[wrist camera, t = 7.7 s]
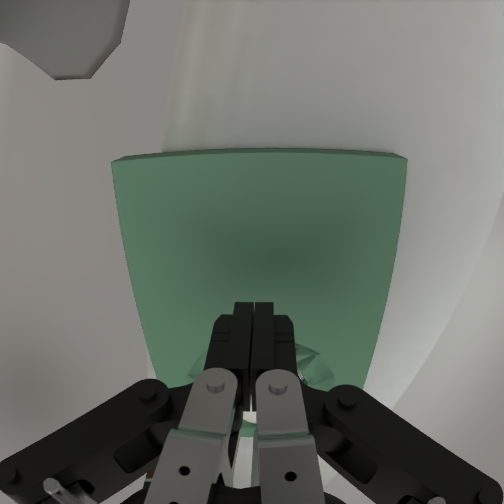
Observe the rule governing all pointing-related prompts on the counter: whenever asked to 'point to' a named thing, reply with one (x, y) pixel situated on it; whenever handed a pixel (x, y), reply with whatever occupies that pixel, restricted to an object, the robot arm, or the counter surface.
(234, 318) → the robot arm
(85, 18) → the flask
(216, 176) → the putting board
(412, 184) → the counter surface
